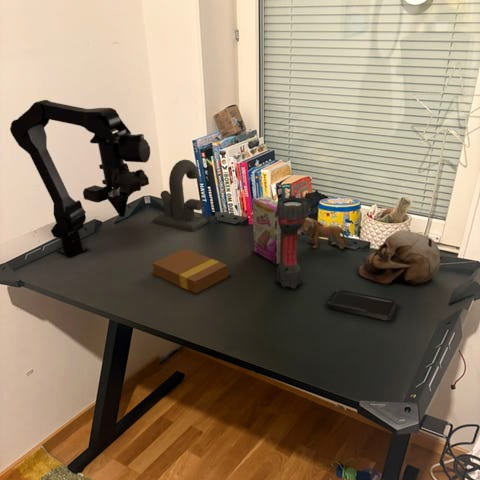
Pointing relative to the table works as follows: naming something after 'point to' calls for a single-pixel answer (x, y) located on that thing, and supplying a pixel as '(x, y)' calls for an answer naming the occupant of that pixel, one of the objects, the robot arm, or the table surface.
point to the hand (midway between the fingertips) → (122, 216)
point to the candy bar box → (266, 228)
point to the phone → (362, 304)
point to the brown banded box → (190, 270)
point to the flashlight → (290, 238)
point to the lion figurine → (322, 232)
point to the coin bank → (403, 259)
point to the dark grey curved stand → (180, 200)
